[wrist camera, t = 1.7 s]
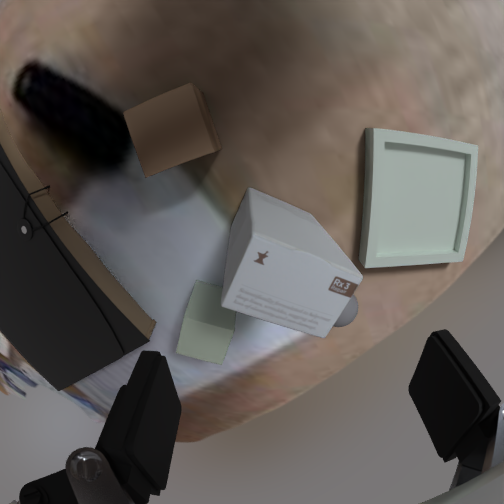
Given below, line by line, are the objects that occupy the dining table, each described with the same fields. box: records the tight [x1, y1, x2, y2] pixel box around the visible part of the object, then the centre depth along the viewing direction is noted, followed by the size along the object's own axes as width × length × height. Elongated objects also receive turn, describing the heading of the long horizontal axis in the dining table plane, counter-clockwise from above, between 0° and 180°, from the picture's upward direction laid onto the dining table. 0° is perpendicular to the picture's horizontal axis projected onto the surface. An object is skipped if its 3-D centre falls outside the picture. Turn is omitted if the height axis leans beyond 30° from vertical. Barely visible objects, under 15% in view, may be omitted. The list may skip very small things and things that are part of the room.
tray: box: [359, 128, 478, 268], centre depth 23 cm, size 12×12×2 cm
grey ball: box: [333, 295, 358, 327], centre depth 26 cm, size 4×4×4 cm
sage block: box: [176, 280, 236, 365], centre depth 25 cm, size 4×4×6 cm
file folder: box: [0, 109, 156, 391], centre depth 25 cm, size 33×4×24 cm
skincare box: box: [221, 187, 363, 338], centre depth 19 cm, size 6×4×12 cm
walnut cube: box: [123, 83, 222, 178], centre depth 19 cm, size 5×5×5 cm
